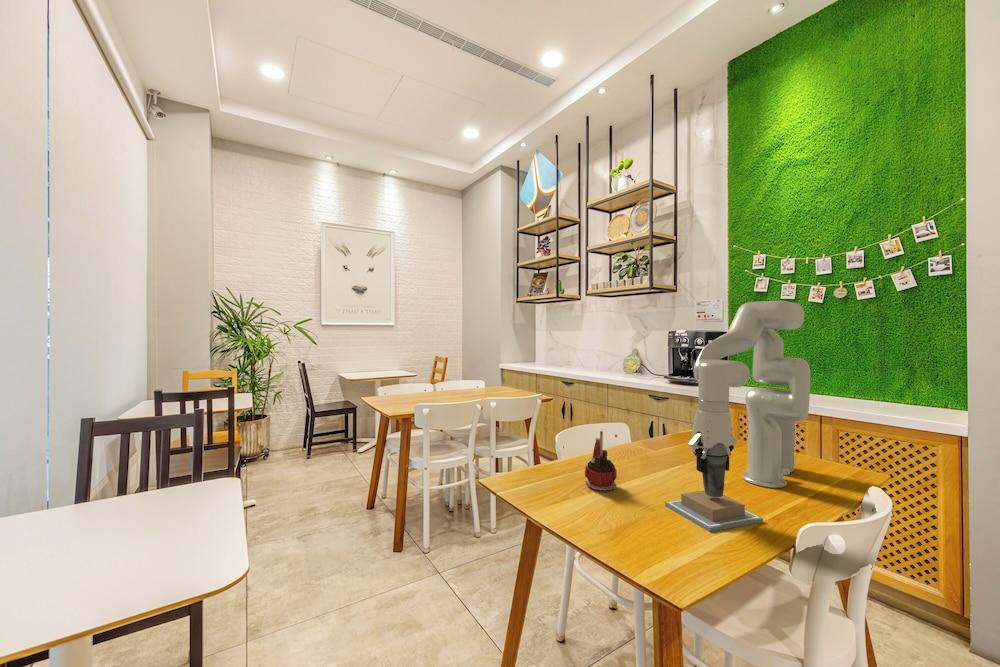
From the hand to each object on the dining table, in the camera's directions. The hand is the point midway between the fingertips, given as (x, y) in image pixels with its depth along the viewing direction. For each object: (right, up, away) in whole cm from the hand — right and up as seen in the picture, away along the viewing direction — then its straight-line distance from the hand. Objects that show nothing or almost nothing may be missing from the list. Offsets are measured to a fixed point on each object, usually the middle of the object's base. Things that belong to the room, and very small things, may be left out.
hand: (712, 470), depth 112 cm
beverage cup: (0, -7, 0) cm, 7 cm away
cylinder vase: (+43, -13, +38) cm, 59 cm away
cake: (-26, -12, +19) cm, 34 cm away
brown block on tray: (0, -12, 0) cm, 12 cm away
